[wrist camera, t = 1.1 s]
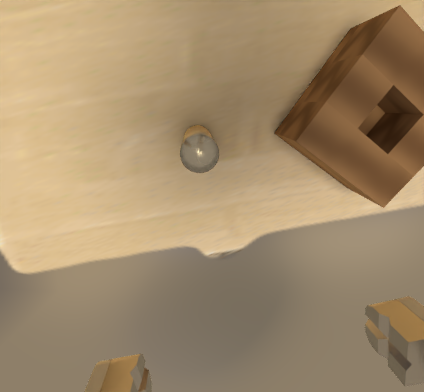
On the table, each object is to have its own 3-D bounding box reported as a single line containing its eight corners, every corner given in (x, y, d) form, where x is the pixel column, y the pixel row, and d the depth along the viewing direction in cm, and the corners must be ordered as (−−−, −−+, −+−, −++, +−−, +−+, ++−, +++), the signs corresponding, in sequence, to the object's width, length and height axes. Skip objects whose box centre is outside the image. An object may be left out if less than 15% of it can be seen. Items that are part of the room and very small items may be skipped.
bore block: (350, 28, 31) (399, 5, 24) (423, 101, 36) (485, 101, 28) (274, 133, 36) (296, 141, 28) (347, 188, 40) (383, 207, 32)
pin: (193, 119, 34) (193, 126, 24) (216, 135, 35) (226, 148, 25) (178, 143, 35) (172, 159, 25) (201, 158, 36) (205, 179, 26)
